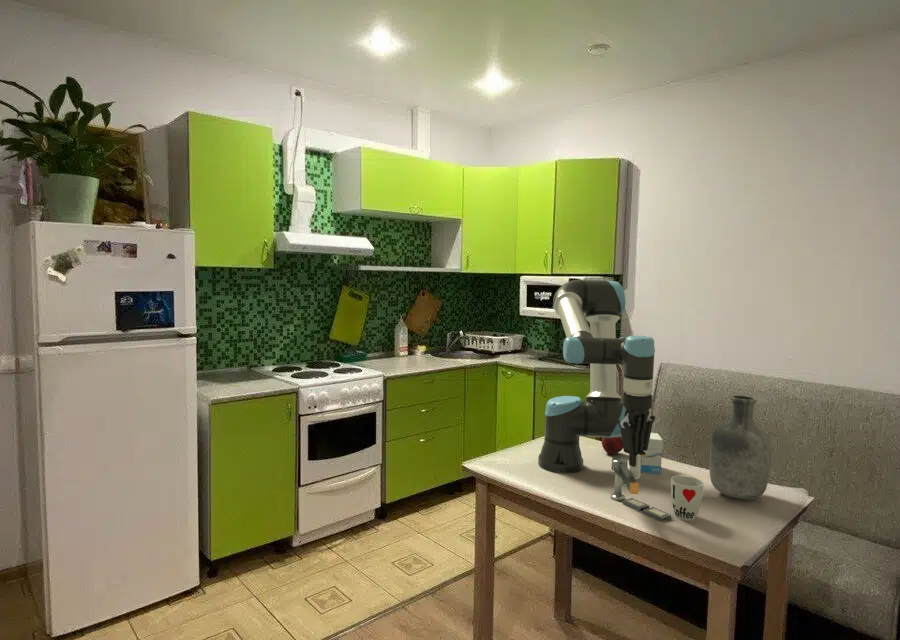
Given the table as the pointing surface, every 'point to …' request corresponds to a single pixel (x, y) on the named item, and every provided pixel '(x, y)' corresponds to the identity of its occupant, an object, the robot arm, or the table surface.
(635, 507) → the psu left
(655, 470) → the ink box
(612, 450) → the apple
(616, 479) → the post
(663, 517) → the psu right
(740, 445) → the vase
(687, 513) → the cup
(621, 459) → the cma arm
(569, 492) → the table surface
